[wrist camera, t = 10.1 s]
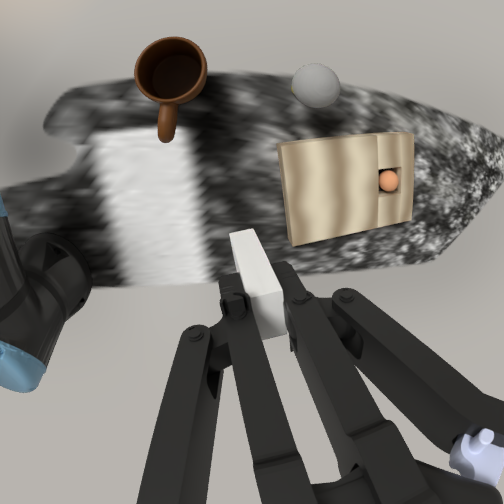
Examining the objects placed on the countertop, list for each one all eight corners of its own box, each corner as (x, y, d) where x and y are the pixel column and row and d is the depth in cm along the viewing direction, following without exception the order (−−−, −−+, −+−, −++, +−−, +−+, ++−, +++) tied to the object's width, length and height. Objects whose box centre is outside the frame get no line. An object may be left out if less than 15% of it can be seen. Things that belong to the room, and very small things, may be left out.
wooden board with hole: (288, 239, 45) (292, 246, 43) (276, 143, 38) (281, 146, 36) (403, 214, 47) (411, 220, 44) (404, 131, 39) (413, 134, 37)
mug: (200, 137, 36) (199, 146, 28) (144, 137, 34) (127, 146, 26) (209, 52, 30) (211, 35, 22) (152, 52, 29) (137, 36, 21)
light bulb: (306, 65, 33) (337, 55, 24) (321, 100, 35) (355, 100, 27) (271, 77, 33) (292, 68, 24) (286, 112, 36) (312, 115, 27)
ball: (396, 195, 40) (399, 189, 42) (397, 174, 38) (400, 169, 40) (376, 192, 42) (380, 186, 44) (376, 172, 40) (380, 167, 42)
